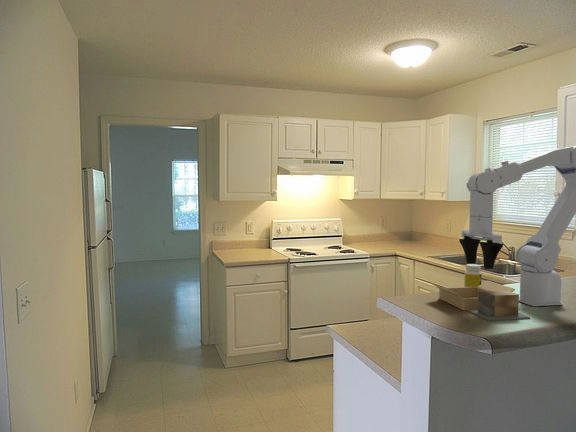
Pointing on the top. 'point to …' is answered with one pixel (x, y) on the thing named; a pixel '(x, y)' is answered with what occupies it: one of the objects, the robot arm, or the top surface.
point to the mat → (495, 318)
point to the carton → (468, 294)
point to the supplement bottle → (472, 275)
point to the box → (498, 303)
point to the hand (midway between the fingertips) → (479, 266)
